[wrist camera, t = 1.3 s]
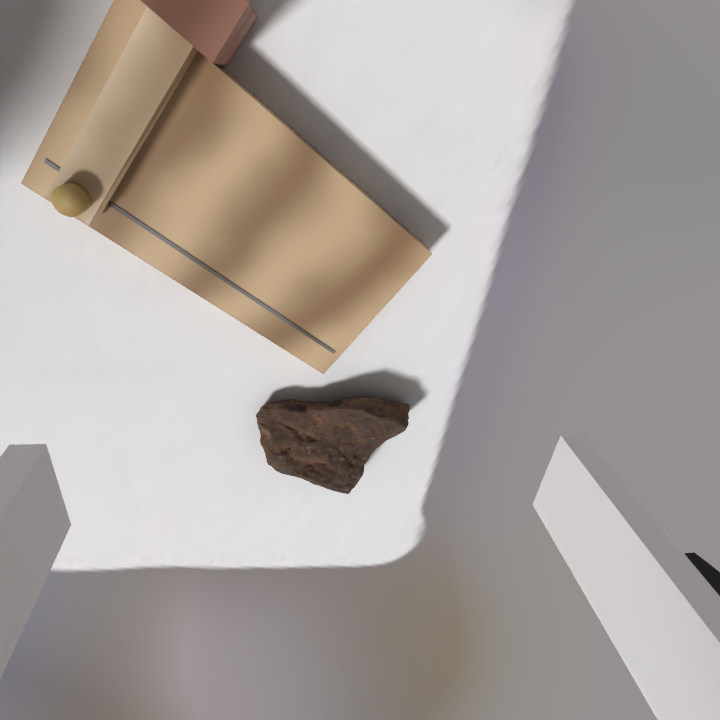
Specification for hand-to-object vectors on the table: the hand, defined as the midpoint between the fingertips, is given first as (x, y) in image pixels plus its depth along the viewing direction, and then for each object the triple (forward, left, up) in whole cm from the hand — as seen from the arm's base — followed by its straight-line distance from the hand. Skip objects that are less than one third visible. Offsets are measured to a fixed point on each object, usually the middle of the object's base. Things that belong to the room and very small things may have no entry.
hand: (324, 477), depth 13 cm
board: (-4, -1, -23) cm, 24 cm away
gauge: (-12, +1, -23) cm, 26 cm away
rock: (+12, -13, -24) cm, 30 cm away
